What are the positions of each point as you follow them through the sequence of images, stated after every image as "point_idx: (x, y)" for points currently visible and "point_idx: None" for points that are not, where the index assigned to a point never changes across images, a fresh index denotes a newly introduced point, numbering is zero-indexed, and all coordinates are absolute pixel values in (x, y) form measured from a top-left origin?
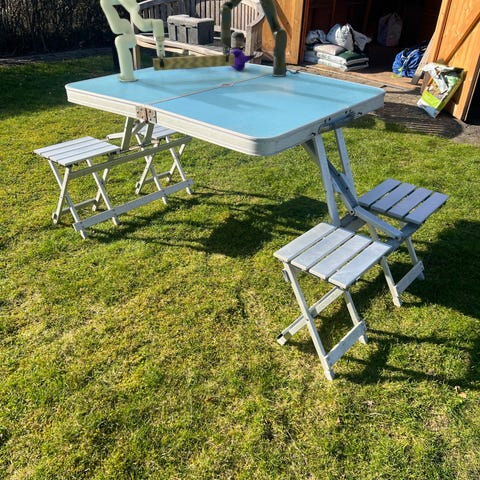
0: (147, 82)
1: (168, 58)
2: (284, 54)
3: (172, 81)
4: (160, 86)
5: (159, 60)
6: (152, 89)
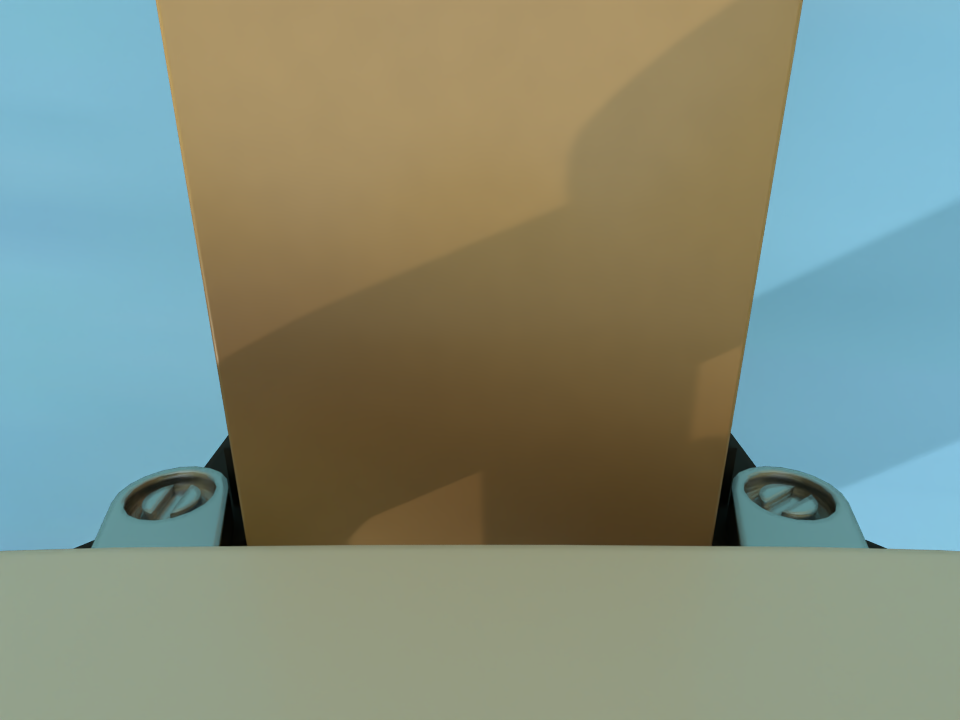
0: None
1: (660, 130)
2: None
3: None
4: None
5: None
6: (897, 489)
